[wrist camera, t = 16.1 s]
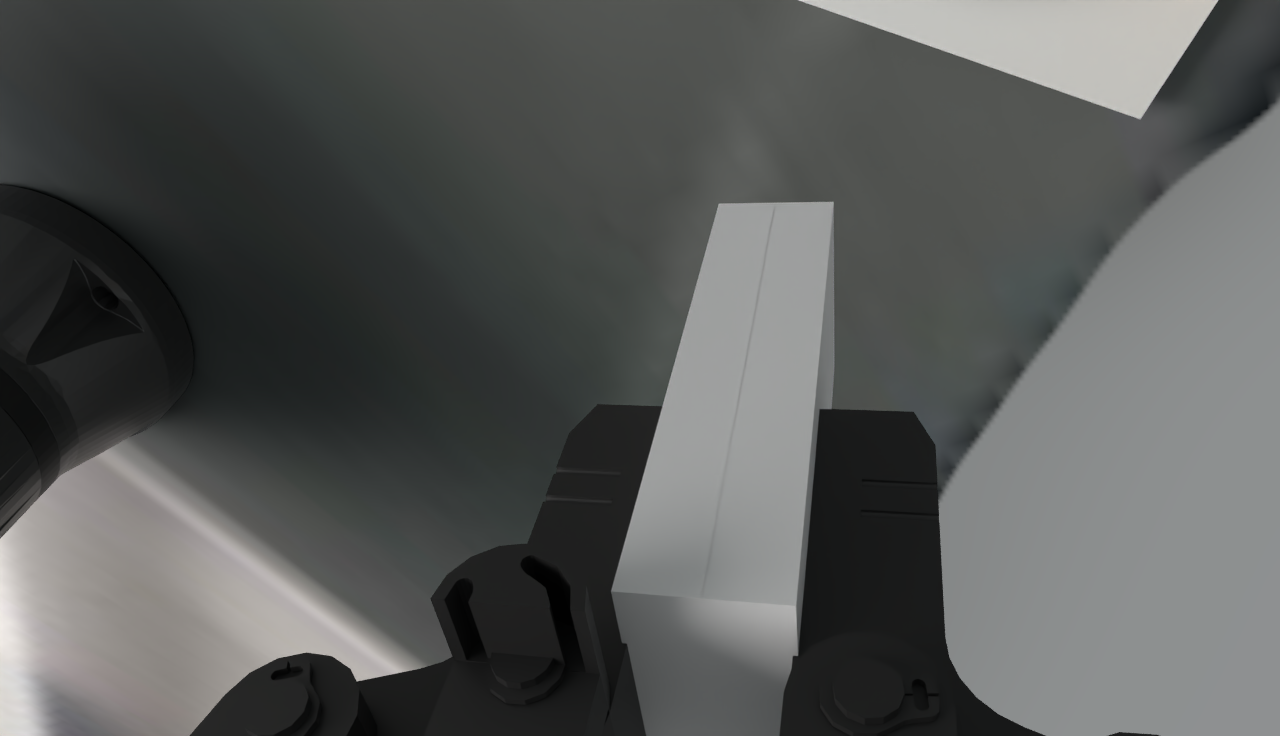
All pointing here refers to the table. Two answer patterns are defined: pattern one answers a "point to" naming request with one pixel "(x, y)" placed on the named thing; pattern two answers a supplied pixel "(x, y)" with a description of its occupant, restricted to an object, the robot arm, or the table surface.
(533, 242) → the table surface
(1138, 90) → the turntable base
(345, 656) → the table surface
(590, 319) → the table surface
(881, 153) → the table surface
